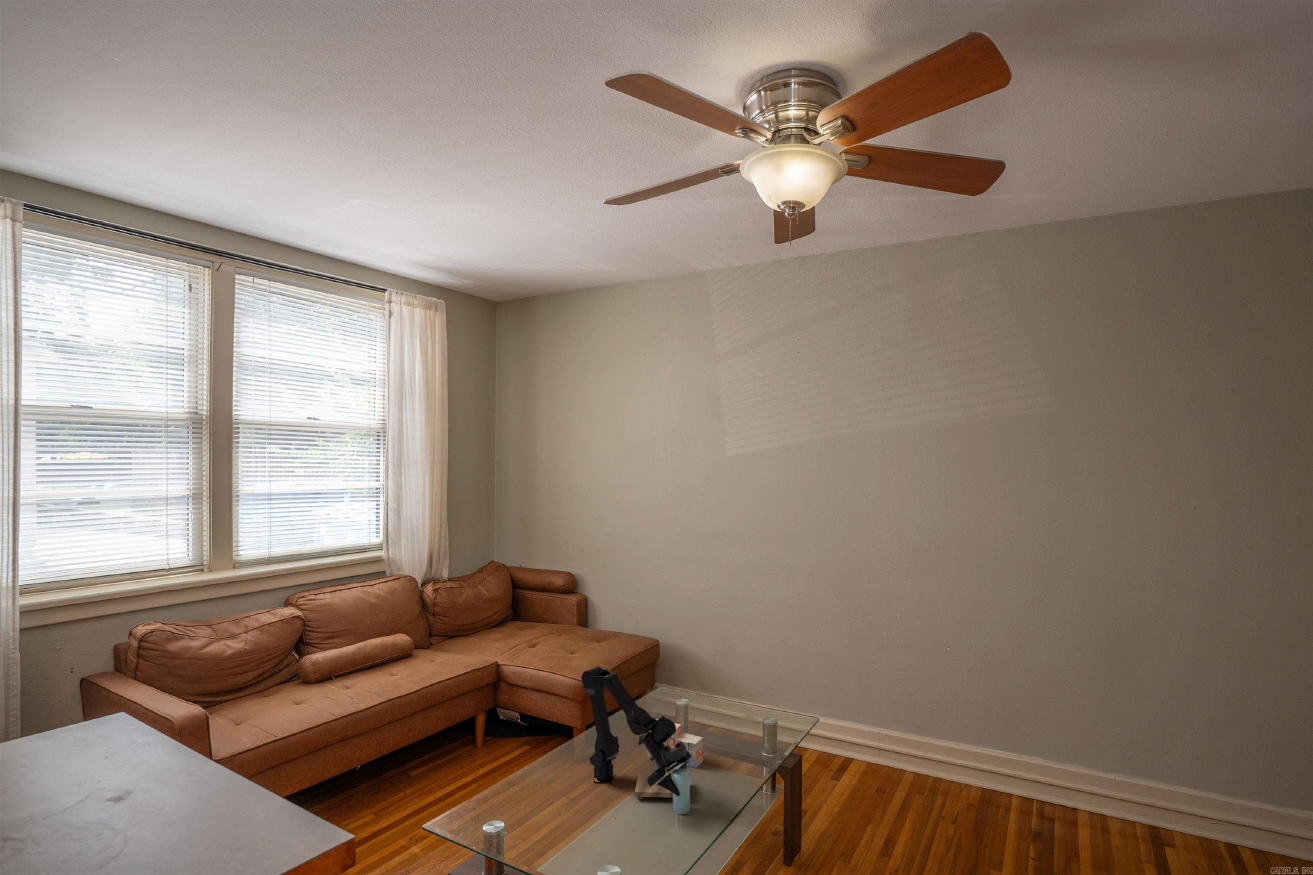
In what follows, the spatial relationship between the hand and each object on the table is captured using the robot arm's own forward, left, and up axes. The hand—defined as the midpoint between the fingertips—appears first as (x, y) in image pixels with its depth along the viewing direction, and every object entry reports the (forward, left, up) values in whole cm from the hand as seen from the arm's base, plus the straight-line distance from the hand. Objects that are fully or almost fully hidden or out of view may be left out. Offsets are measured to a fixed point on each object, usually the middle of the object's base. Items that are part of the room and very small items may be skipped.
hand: (684, 791), depth 228 cm
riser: (-8, +12, -7) cm, 16 cm away
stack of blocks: (-5, +36, -7) cm, 37 cm away
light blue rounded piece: (-1, +1, -7) cm, 7 cm away
